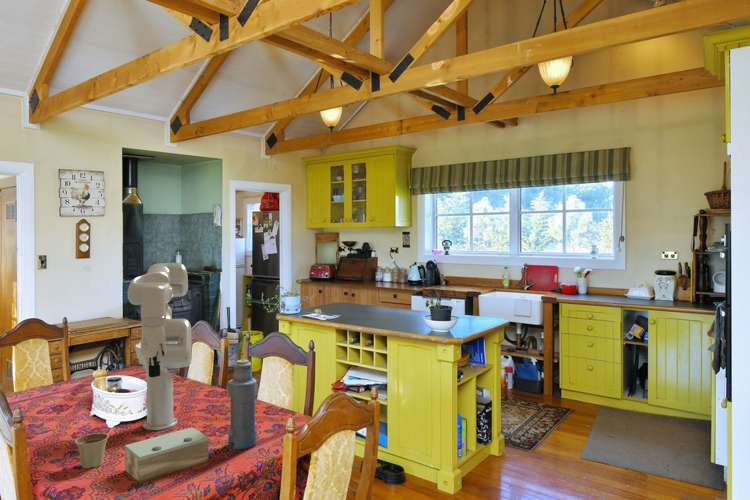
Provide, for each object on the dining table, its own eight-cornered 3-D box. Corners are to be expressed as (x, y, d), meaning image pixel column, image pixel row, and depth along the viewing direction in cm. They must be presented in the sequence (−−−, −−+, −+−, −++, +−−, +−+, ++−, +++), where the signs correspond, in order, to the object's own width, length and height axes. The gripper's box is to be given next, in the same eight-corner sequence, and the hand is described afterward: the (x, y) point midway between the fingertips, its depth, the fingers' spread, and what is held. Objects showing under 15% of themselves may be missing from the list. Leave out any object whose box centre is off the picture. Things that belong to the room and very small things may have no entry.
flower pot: (84, 458, 171) (84, 433, 171) (113, 457, 172) (113, 432, 172) (70, 471, 162) (69, 444, 161) (101, 470, 162) (100, 443, 162)
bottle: (227, 441, 185) (226, 358, 185) (254, 437, 189) (254, 356, 188) (230, 451, 176) (229, 364, 176) (259, 447, 180) (258, 362, 179)
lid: (125, 448, 162) (124, 444, 162) (191, 430, 178) (191, 426, 178) (139, 460, 153) (139, 456, 153) (208, 440, 169) (208, 436, 169)
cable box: (125, 470, 162) (125, 448, 162) (192, 450, 178) (191, 430, 178) (139, 483, 154) (139, 460, 154) (208, 460, 169) (208, 439, 169)
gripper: (133, 320, 175) (134, 374, 175) (151, 325, 164) (151, 383, 164) (156, 318, 180) (156, 370, 180) (174, 323, 169) (174, 378, 170)
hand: (154, 376), depth 172 cm, fingers closed
